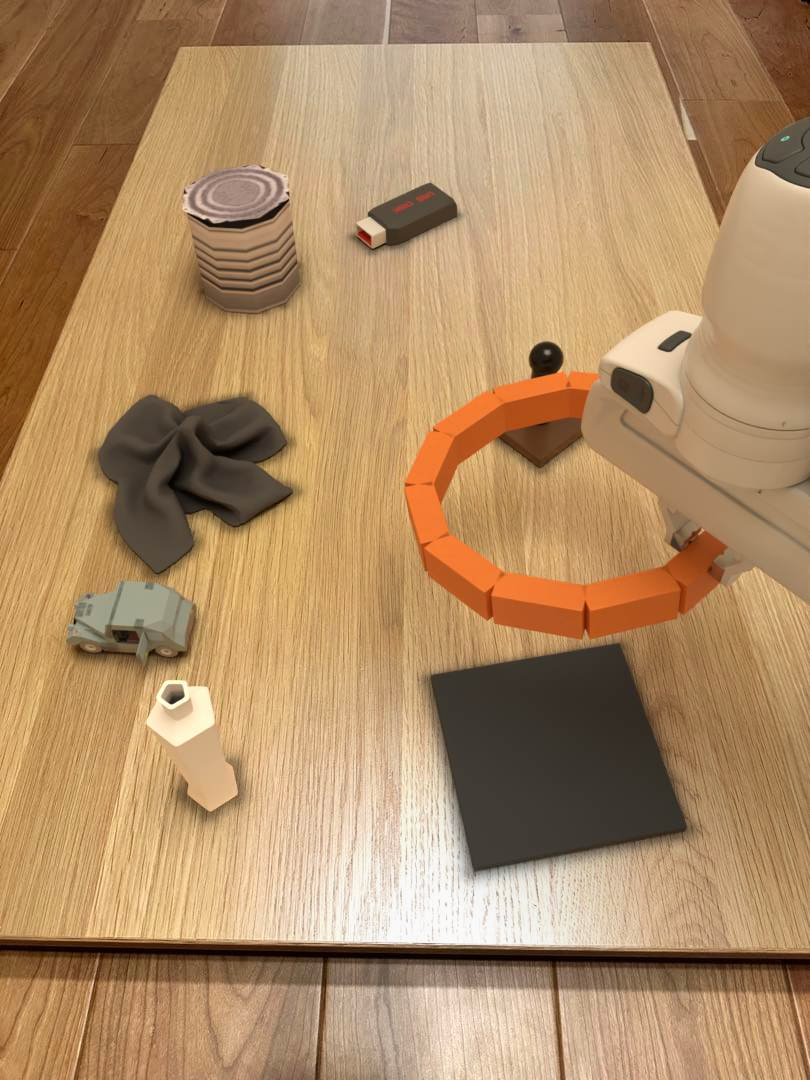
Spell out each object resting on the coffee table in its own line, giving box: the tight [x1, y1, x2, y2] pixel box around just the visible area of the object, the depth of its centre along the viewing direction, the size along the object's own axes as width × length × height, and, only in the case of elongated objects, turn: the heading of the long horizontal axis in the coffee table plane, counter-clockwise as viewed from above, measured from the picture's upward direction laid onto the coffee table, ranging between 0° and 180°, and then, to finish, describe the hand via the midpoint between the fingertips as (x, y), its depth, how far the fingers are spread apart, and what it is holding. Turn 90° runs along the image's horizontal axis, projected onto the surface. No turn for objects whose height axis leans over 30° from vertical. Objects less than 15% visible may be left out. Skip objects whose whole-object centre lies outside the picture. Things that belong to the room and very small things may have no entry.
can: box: [182, 164, 301, 315], centre depth 107 cm, size 11×11×12 cm
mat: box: [430, 642, 688, 872], centre depth 76 cm, size 16×16×1 cm
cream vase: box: [145, 679, 239, 812], centre depth 69 cm, size 5×4×15 cm
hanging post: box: [498, 340, 583, 468], centre depth 93 cm, size 8×8×10 cm
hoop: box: [403, 370, 728, 641], centre depth 71 cm, size 24×24×3 cm
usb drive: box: [354, 182, 458, 249], centre depth 116 cm, size 5×12×3 cm, turn 127°
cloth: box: [97, 394, 293, 574], centre depth 92 cm, size 22×19×6 cm
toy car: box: [65, 580, 198, 668], centre depth 81 cm, size 6×10×5 cm, turn 86°
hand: (701, 558), depth 64 cm, fingers closed on hoop, 2 cm apart
